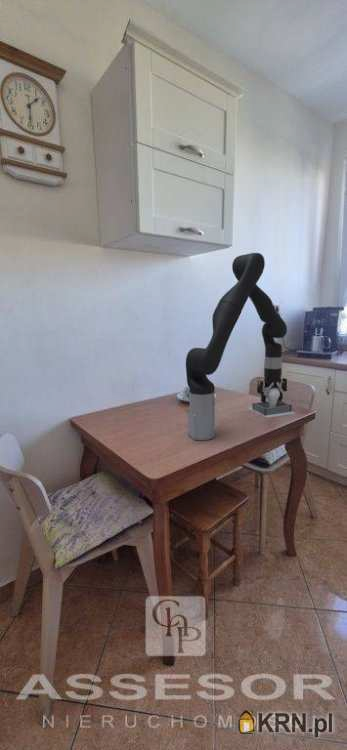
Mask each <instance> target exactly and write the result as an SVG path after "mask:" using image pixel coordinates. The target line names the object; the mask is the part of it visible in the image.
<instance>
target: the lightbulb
mask: <svg viewBox="0 0 347 750" xmlns="http://www.w3.org/2000/svg"><path fill="white" fill-rule="evenodd" d="M279 396H280V392H279V390H278V389H277V388H272V389H270V390H269V391H268V392H267V393H266V400H267V401H269V405H270V407H276V402H277V400H278V398H279Z"/></svg>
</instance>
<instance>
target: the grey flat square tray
mask: <svg viewBox="0 0 347 750" xmlns="http://www.w3.org/2000/svg"><path fill="white" fill-rule="evenodd" d="M292 407H293V406H292V404H290V403H287V402H285V401H283V400H282V401H278V400H277V402H276V407H270V405H269V401H268V400H266V403H263V402H262V401H258V402H252V405H251V407H248V410H249V411H252V412H254V413H256V414H258V415H260V416H262V417H264V418H266V419H272V418H273V419H274V418H277V417H279V418H280V417H284V416H290V415H291V416H292V415H297V412H295V411H292V409H293V408H292Z"/></svg>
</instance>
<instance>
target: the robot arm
mask: <svg viewBox="0 0 347 750" xmlns="http://www.w3.org/2000/svg"><path fill="white" fill-rule="evenodd" d="M265 261H266V260H265V257H264V256H263V254H262V253H260V252H251V253H247V254H241V255H237V256H236V257H235V258H234V259H233V261H232V264H231V265H232V266H231V268H232V272H233V275H234V277H235V278H236V280H237V282H236V283H235V284H234V285H233V286H232V287H231V288H230V289H229V290H228V291H226V293H224V294H223V296H221V298H220V299H219V301H218V303H217V305H216V307H215V309H214V311H213V313H212V316H211V317H212V322H211V323H212V334H211V335H212V336H211V339H210V341H209V342H208V344H207V346H206V347H205V348H203V347H192V348H190V349H189V351H188V352H187V353H186V358H185V371H186V383H187V387H188V389H189V410H188V411H187V425H188V426H187V428H188V429H187V431H188V436H189V437H190V438H192V440H194V441H197V440H198V441H208V440H212V439H214V438H215V435H216V430H215V426H216V424H215V423H216V422H215V419H216V418H215V417H216V416H215V411H216V410H215V404H216V403H215V399H216V398H215V397H216V396H215V391H216V390H215V384H214V383H213V382H212V381H211V380H210V379H209V378H208V376H210V375H213V374H214V373H215V372H216V371H217V369H218V368H219V366H220V363H221V361H222V358H223V355H224V353H225V349H226V347H227V344H228V341H229V340H230V337H231V335H232V333H233V330H234V328H235V326H236V324H237V322H238V320H239V319H240V316H241V314H242V311H243V309H244V307H245V305H246V303H247V301H248V299H250V301H251V302H252V304H253V307H254V308H255V310H256V312H257V315H258V317H259V319H260V321H261V322H263V323H264V324H263V325H262V326H261V327H262V328H261V335H262V339H263V343H264V347H265V349H264V353H265V354H264V366H263V377H264V380H260V379H258V380H257V387H256V393H257V394H259V395H260V402H263V403H266V401H267V397H266V393H267V392H268V391H269V390H270V389H272V388H277V389H278V390H279V392H280V396H279V398H278V401H282V402H283V399H284V398H283V397H284V396H283V395H284V394H283V393H284V392H287V391H288V379H287V378H285V377H282V371H283V368H282V367H283V360H282V359H283V354H282V352H283V346H282V344H281V343H279V342H276V341H275V339H281V338H284V337H285V336H286V335H287V331H288V327H287V324H286V322H285V320H284V319H283V318H282V317H281V316H280V314H279V313H278V312H277V311H276V308H275V305H274V303H273V301H272V299H271V297H270V296H269V295H268V294H267V293H266V292H265V291H264V290H263V289H261V288H260V287H259V286H258V285H257V283H258V281H259V280H260V278H261V276H262V275H263V273H264V270H265V265H266V264H265V263H266V262H265ZM280 384H281V385H280Z"/></svg>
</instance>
